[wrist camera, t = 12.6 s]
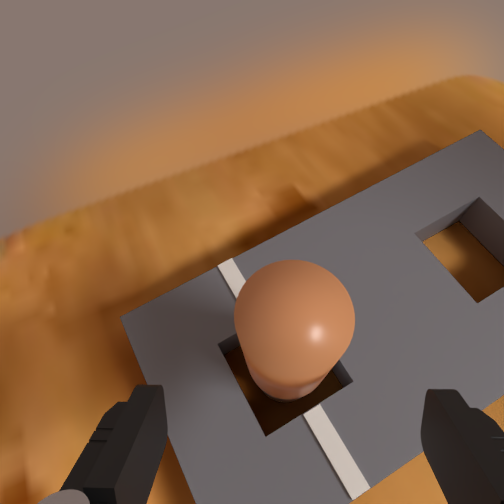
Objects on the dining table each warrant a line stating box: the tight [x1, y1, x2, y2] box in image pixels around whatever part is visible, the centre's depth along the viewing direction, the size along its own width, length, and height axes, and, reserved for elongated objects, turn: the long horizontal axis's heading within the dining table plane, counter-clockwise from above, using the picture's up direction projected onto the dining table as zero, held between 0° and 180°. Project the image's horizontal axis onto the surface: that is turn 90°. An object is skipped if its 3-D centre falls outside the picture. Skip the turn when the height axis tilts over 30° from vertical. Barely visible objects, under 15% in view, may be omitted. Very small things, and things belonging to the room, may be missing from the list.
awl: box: [234, 260, 355, 403], centre depth 18 cm, size 4×4×12 cm
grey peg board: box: [120, 130, 504, 504], centre depth 23 cm, size 28×14×3 cm, turn 119°
